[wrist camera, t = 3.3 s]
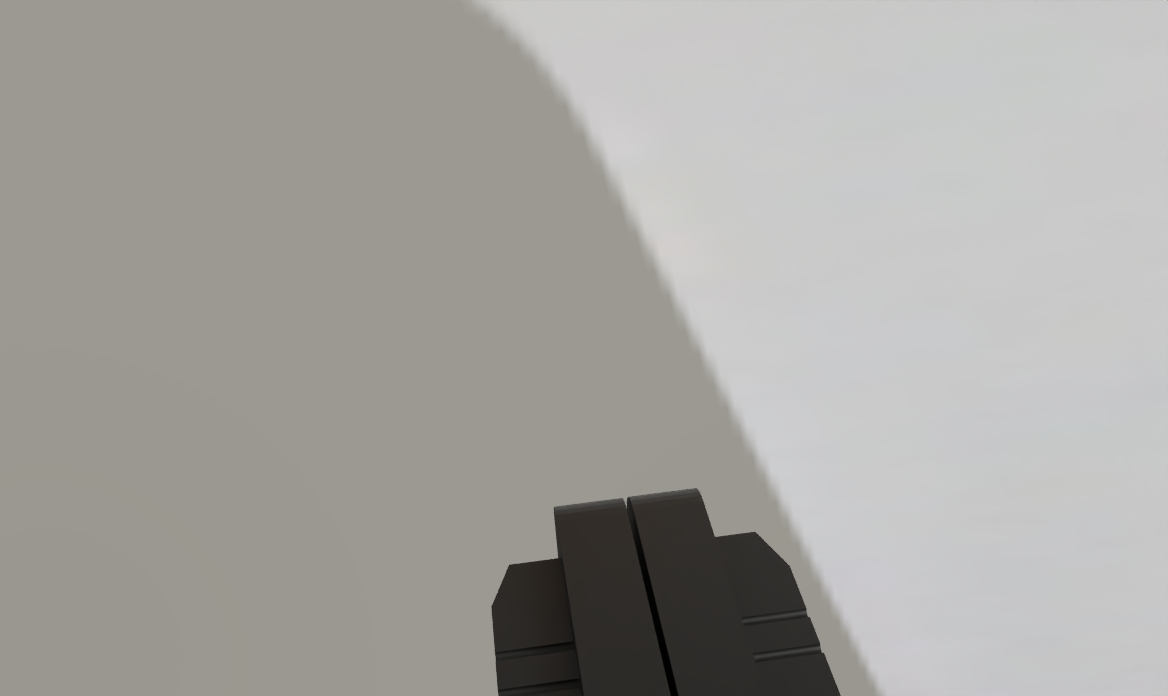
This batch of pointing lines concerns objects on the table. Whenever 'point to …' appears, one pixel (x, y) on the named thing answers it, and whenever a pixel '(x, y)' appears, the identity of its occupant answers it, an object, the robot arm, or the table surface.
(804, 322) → the table surface
